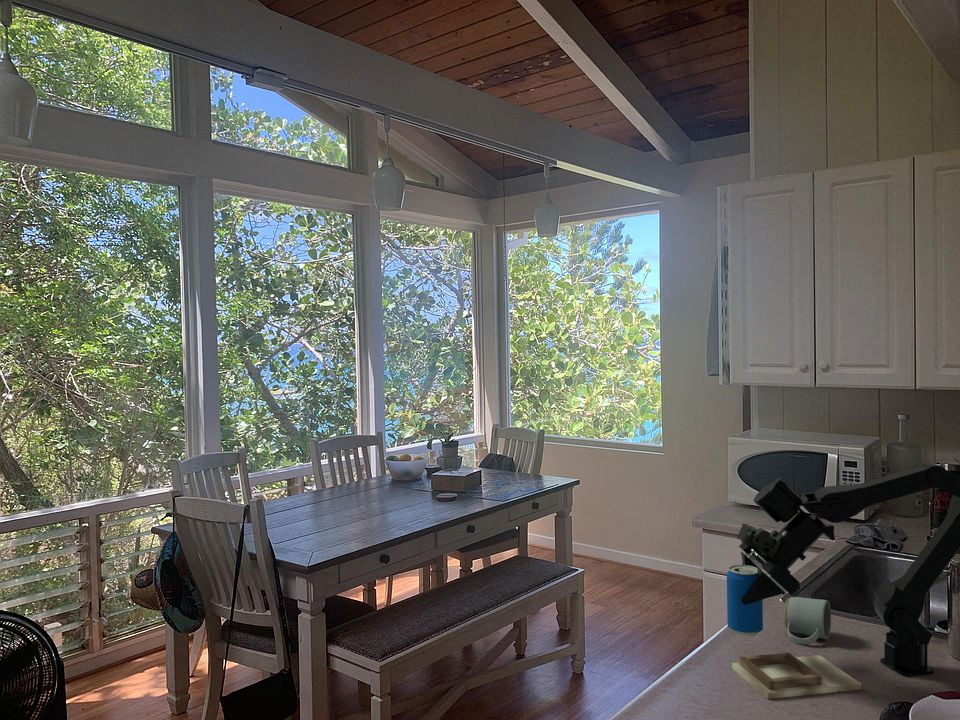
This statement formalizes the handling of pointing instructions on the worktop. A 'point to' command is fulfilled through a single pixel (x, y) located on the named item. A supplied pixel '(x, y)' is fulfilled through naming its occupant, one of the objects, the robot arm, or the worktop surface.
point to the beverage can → (738, 614)
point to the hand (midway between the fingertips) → (737, 596)
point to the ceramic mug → (807, 619)
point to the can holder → (793, 675)
